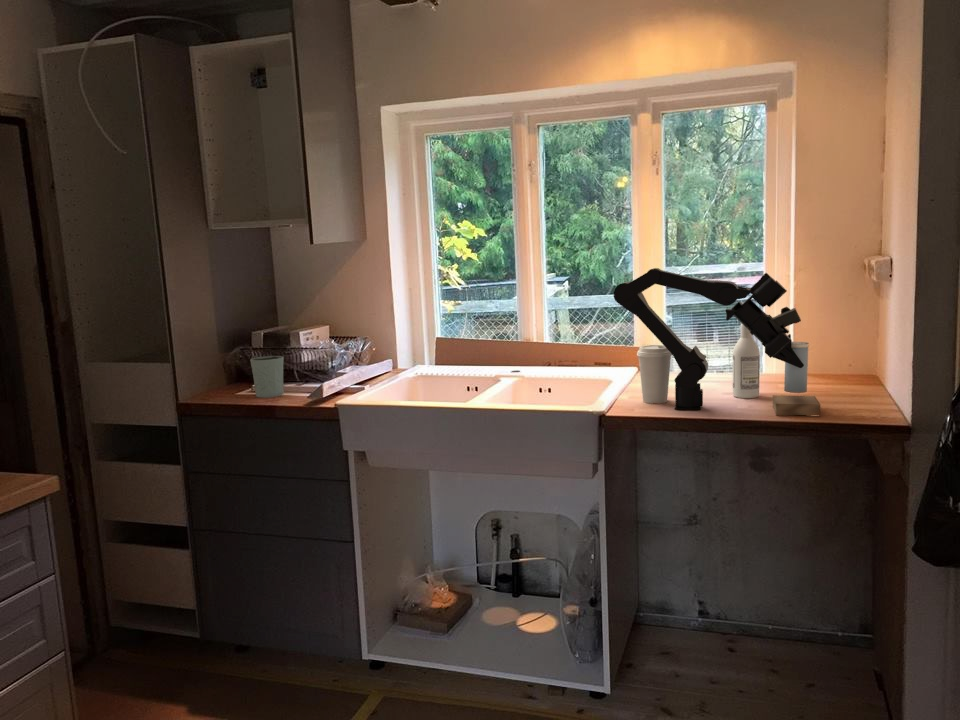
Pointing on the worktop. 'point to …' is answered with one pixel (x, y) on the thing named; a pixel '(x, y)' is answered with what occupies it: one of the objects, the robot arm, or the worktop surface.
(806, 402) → the base block
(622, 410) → the worktop surface
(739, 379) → the bath foam
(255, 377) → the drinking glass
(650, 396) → the coffee cup
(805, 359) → the canister
